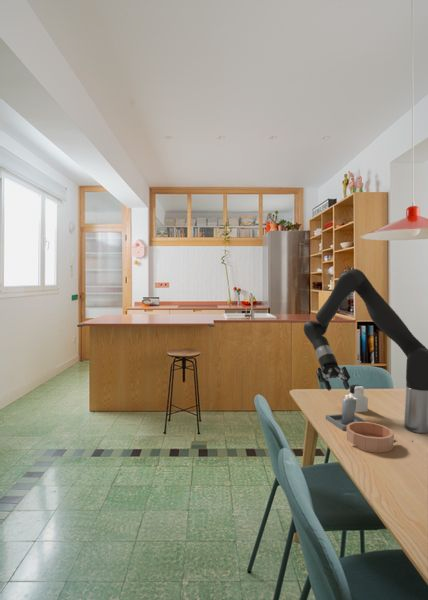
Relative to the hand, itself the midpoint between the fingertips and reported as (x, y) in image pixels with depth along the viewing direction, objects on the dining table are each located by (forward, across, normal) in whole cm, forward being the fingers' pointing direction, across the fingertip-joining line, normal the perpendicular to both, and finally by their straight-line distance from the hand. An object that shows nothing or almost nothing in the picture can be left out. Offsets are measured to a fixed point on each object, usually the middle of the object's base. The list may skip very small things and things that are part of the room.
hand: (338, 389), depth 172 cm
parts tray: (+15, 0, +4) cm, 15 cm away
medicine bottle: (+4, +14, +15) cm, 21 cm away
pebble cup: (+14, 0, +3) cm, 14 cm away
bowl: (+27, -2, -8) cm, 28 cm away
